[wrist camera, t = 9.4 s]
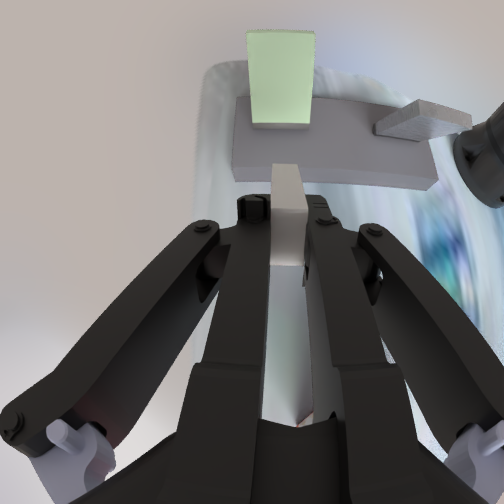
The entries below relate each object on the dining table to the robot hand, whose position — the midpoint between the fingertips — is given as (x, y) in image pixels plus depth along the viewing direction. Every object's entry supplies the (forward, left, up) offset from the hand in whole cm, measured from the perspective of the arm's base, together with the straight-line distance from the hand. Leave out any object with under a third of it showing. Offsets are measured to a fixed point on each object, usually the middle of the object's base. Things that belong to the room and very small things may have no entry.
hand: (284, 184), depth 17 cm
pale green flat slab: (-11, -10, -13) cm, 20 cm away
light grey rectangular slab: (-22, +2, -13) cm, 26 cm away
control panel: (-17, -4, -18) cm, 25 cm away
